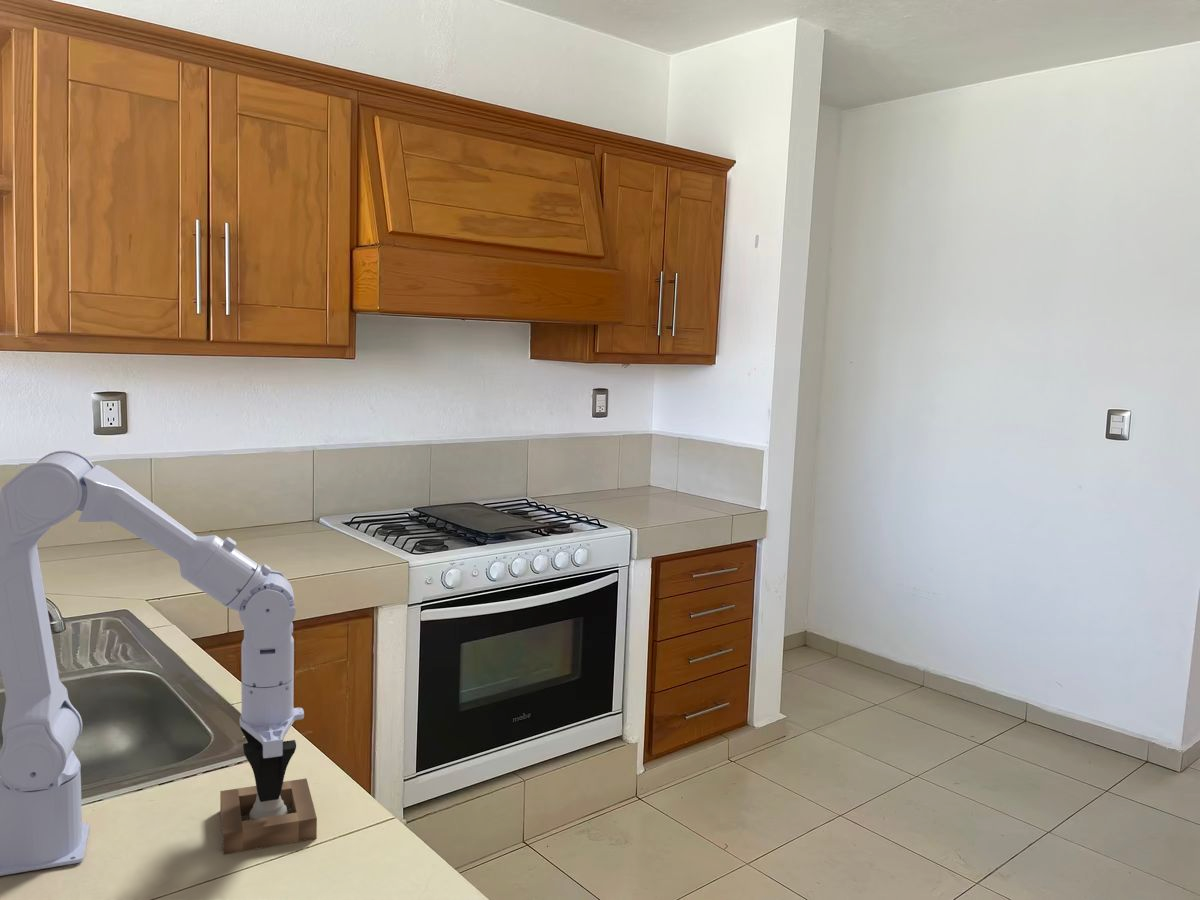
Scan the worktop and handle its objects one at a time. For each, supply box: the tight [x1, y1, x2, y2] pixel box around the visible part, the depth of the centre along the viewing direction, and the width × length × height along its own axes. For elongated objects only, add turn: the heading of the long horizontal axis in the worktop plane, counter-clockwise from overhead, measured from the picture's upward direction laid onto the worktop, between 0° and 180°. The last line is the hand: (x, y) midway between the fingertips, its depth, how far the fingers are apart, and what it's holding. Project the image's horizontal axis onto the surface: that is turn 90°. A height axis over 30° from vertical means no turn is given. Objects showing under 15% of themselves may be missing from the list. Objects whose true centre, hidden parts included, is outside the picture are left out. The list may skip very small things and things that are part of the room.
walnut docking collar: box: [219, 778, 318, 855], centre depth 109 cm, size 10×10×2 cm
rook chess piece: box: [248, 793, 288, 820], centre depth 109 cm, size 4×4×8 cm
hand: (267, 789), depth 109 cm, fingers open, 4 cm apart
